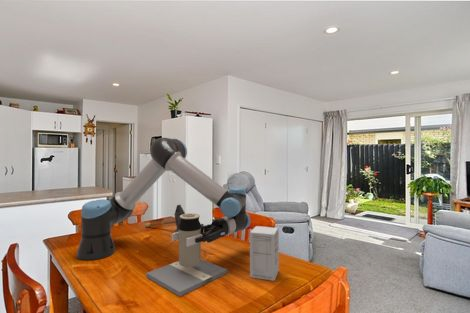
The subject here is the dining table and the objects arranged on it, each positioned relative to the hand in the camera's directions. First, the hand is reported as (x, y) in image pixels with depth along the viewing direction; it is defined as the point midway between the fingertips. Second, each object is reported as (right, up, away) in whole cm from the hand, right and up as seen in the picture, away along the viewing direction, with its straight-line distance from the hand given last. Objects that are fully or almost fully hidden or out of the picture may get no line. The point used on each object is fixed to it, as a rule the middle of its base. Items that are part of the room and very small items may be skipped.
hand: (179, 239), depth 95 cm
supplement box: (+31, -14, +4) cm, 35 cm away
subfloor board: (+2, -14, +3) cm, 15 cm away
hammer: (-21, -14, +60) cm, 65 cm away
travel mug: (+3, -10, +4) cm, 11 cm away
